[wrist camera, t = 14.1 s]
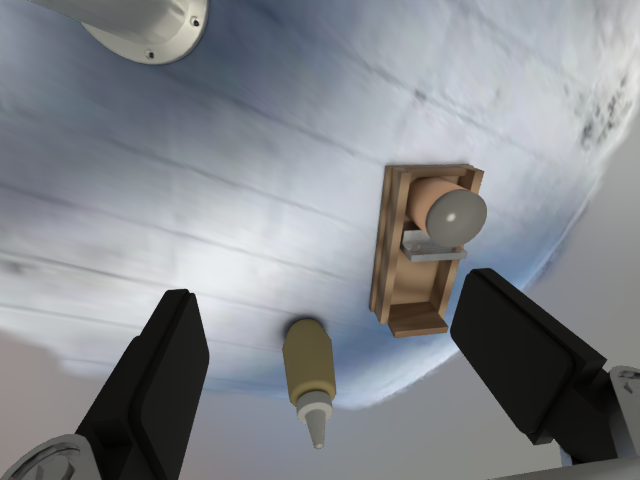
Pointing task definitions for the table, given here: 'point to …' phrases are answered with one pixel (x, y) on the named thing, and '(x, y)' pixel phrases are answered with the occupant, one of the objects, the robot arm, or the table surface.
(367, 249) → the table surface
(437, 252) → the plate
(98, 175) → the table surface
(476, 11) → the table surface
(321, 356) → the squeeze bottle
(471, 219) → the jar
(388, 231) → the wooden tray
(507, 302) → the robot arm
